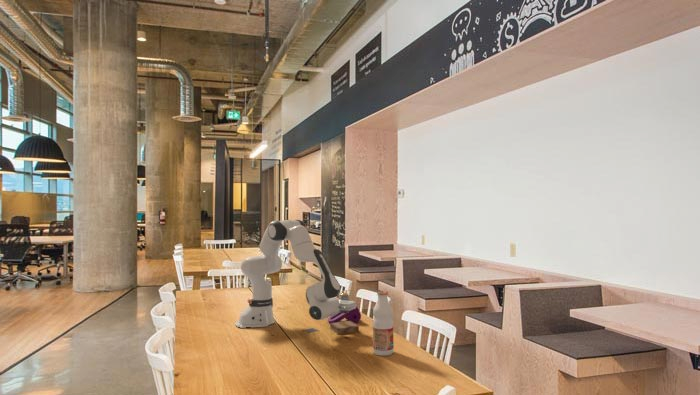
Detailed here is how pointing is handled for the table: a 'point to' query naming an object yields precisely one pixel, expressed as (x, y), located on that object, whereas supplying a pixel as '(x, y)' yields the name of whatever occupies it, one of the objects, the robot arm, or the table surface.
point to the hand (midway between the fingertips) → (344, 301)
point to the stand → (344, 327)
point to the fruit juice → (383, 326)
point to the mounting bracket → (346, 316)
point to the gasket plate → (310, 330)
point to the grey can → (344, 297)
